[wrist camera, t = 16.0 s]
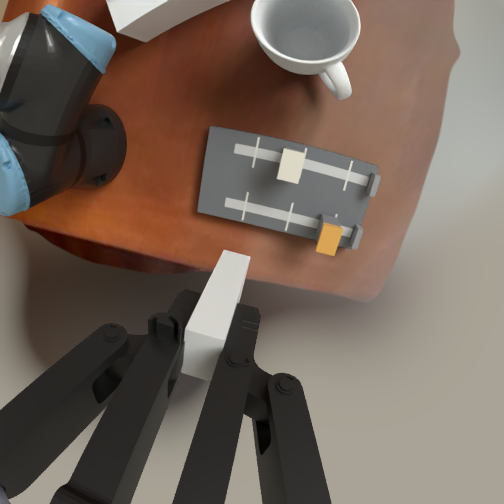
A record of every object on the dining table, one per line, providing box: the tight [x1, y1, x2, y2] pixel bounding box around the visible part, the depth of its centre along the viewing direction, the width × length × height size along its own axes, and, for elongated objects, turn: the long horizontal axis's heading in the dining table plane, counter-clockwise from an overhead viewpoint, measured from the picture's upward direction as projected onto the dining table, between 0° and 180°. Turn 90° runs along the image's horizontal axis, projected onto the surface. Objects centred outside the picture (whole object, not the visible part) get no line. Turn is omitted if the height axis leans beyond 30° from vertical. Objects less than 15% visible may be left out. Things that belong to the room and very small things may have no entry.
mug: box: [251, 0, 360, 100], centre depth 27 cm, size 15×11×13 cm
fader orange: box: [315, 214, 343, 256], centre depth 38 cm, size 3×4×5 cm
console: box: [197, 126, 381, 250], centre depth 39 cm, size 24×13×4 cm, turn 79°
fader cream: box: [277, 146, 305, 184], centre depth 35 cm, size 3×4×5 cm
